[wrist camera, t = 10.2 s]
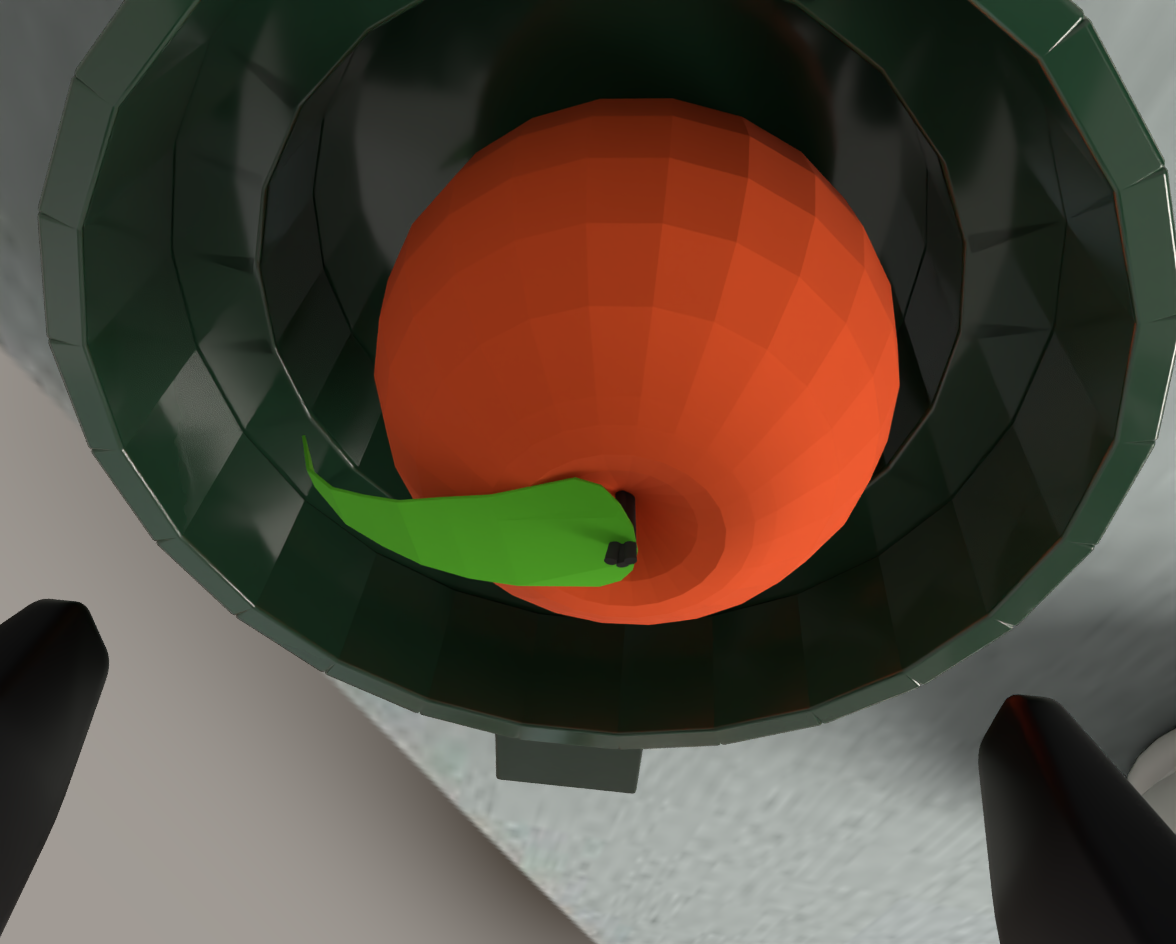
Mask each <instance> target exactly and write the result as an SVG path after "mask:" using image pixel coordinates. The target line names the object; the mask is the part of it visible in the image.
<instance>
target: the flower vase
mask: <svg viewBox="0 0 1176 944" xmlns="http://www.w3.org/2000/svg"><path fill="white" fill-rule="evenodd" d="M1127 780H1128V781H1129V782H1130V783H1131V784H1132V785H1133V787H1134V788H1135V789H1136V790H1137V791H1138V792H1139V793H1140V794H1141V796H1142V797H1143V798H1144V799H1145V800H1146V801H1147V802H1148V804H1149V805H1150V806H1151V807H1152V808H1153V809H1154V810H1155V811H1156V813H1157V814H1158V815H1159V816H1160V817H1161V818H1162V819H1163V821H1164V822H1165V823H1166V824H1167V825H1168V826H1169V827H1170V829H1171V830H1172V831H1173V832H1174V833H1175V834H1176V728H1175V729H1173V730H1172V731H1170V732H1168V733H1167V734H1165V735H1163V736H1161V737H1160V738H1158V739H1157V740H1156V741H1155V742H1154V743H1153V744H1151V745H1150V746H1149V747H1148V748H1147V749H1146V750H1145V751H1144V752H1143V753H1142V754H1140V756H1139V757H1138V758H1137V760H1136V762H1135V763H1134V765H1133V767H1132V769H1131V770H1130V772H1129V774H1128V779H1127Z"/></svg>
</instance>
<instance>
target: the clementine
mask: <svg viewBox="0 0 1176 944" xmlns="http://www.w3.org/2000/svg"><path fill="white" fill-rule="evenodd" d="M374 379H375V383H376V387H377V392H378V396H379V401H380V405H381V410H382V414H383V419H384V423H385V428H386V432H387V436H388V440H389V444H390V448H391V452H392V456H393V460H394V464H395V468H396V469H397V471H398V473H399V475H400V476H401V478H402V480H403V482H404V484H405V485H406V487H407V489H408V491H409V492H410V494H411V496H412V498H413V499H406V500H395V499H389V498H383V497H376V496H370V495H364V494H360V493H355V492H351V491H347V490H343V489H339V488H335V487H332V486H331V485H330V484H329V483H327V482H326V481H325V480H324V479H322V478H321V477H320V476H319V475H318V474H316V473H315V472H314V468H313V464H312V460H311V456H310V452H309V448H308V444H307V440H306V436H305V435H303V436H302V440H303V447H304V455H305V462H306V470H307V472H308V474H309V476H310V478H311V480H312V482H313V484H314V487H315V488H316V489H317V490H318V492H319V493H320V494H321V495H322V496H323V497H324V499H325V500H326V501H327V502H328V503H329V505H330V506H331V507H332V508H333V509H334V511H335V512H336V513H337V514H338V515H339V517H340V518H341V519H342V520H343V521H344V522H345V524H346V525H348V526H350V527H351V528H353V529H355V530H356V531H358V532H360V533H361V534H363V535H365V536H366V537H368V538H370V539H371V540H373V541H375V542H376V543H378V544H380V545H381V546H383V547H385V548H388V549H390V550H392V551H394V552H396V553H398V554H400V555H402V556H404V557H406V558H408V559H411V560H413V561H415V562H417V563H419V564H421V565H424V566H428V567H431V568H434V569H438V570H441V571H445V572H448V573H452V574H455V575H459V576H462V577H466V578H470V579H476V580H483V581H489V582H493V583H495V584H496V585H498V586H499V587H501V588H502V589H504V590H505V591H507V592H508V593H510V594H511V595H513V596H516V597H518V598H521V599H523V600H525V601H528V602H530V603H533V604H535V605H538V606H540V607H542V608H545V609H547V610H550V611H552V612H555V613H558V614H563V615H568V616H572V617H577V618H581V619H586V620H591V621H595V622H600V623H615V624H639V625H653V624H661V623H668V622H676V621H683V620H691V619H698V618H701V617H704V616H707V615H710V614H713V613H716V612H719V611H722V610H725V609H728V608H731V607H734V606H737V605H740V604H742V603H744V602H746V601H747V600H749V599H751V598H753V597H754V596H756V595H758V594H759V593H761V592H763V591H765V590H766V589H768V588H770V587H772V586H773V585H775V584H777V583H778V582H780V581H781V580H783V579H784V578H785V577H786V576H788V575H789V574H790V573H792V572H793V571H794V570H795V569H797V568H798V567H799V566H800V565H802V564H803V563H804V562H806V561H807V560H808V559H809V558H810V557H811V556H812V555H813V554H814V553H815V552H816V551H817V550H818V549H819V548H820V547H821V546H822V545H823V544H824V543H826V542H827V541H828V540H829V539H830V538H831V537H832V536H833V535H834V534H835V533H836V532H837V531H838V530H839V529H840V528H841V527H842V526H843V525H844V524H845V522H846V521H847V519H848V517H849V515H850V514H851V512H852V510H853V509H854V507H855V505H856V503H857V502H858V500H859V498H860V497H861V495H862V493H863V491H864V490H865V488H866V486H867V484H868V483H869V481H870V479H871V477H872V475H873V472H874V470H875V468H876V466H877V463H878V461H879V459H880V457H881V454H882V452H883V450H884V448H885V445H886V443H887V441H888V436H889V432H890V427H891V423H892V418H893V413H894V409H895V404H896V400H897V395H898V391H899V386H900V385H899V363H898V344H897V335H896V326H895V317H894V309H893V300H892V291H891V284H890V282H889V280H888V278H887V276H886V274H885V272H884V269H883V267H882V265H881V263H880V261H879V259H878V257H877V254H876V252H875V250H874V248H873V246H872V244H871V242H870V240H869V237H868V235H867V233H866V231H865V229H864V227H863V225H862V224H861V222H860V221H859V219H858V218H857V216H856V215H855V213H854V212H853V210H852V209H851V207H850V206H849V204H848V203H847V201H846V200H845V199H844V198H843V196H842V195H841V194H840V193H839V192H838V191H837V190H836V189H835V188H834V187H833V186H832V185H831V183H830V182H829V181H828V180H827V179H826V178H825V177H824V176H823V175H822V174H821V173H820V172H819V170H818V169H817V168H816V167H815V166H814V165H813V164H812V163H811V162H810V161H809V160H808V159H807V158H806V156H805V155H804V154H803V153H802V152H801V151H799V150H797V149H795V148H794V147H792V146H790V145H789V144H787V143H785V142H784V141H782V140H780V139H779V138H777V137H775V136H774V135H772V134H770V133H768V132H767V131H765V130H763V129H762V128H760V127H758V126H757V125H755V124H753V123H752V122H750V121H748V120H746V119H745V118H743V117H741V116H737V115H733V114H730V113H726V112H722V111H718V110H715V109H711V108H707V107H703V106H699V105H696V104H692V103H688V102H684V101H681V100H677V99H673V98H644V99H598V100H594V101H591V102H587V103H583V104H580V105H576V106H573V107H569V108H566V109H562V110H559V111H555V112H552V113H548V114H545V115H541V116H538V117H534V118H531V119H530V120H528V121H527V122H525V123H523V124H522V125H520V126H519V127H517V128H515V129H514V130H512V131H510V132H509V133H507V134H506V135H504V136H502V137H501V138H499V139H498V140H496V141H494V142H493V143H491V144H489V145H488V146H486V147H485V148H483V149H481V150H480V151H478V152H476V153H475V154H474V156H473V157H472V158H471V159H470V160H469V161H468V162H467V163H466V164H465V165H464V167H463V168H462V169H461V170H460V171H459V172H458V173H457V174H456V175H455V176H454V178H453V179H452V180H451V181H450V182H449V183H448V184H447V185H446V187H445V188H444V189H443V190H442V191H441V192H440V193H439V195H438V196H437V197H436V198H435V199H434V200H433V201H432V202H431V204H430V205H429V206H428V207H427V208H426V209H425V210H424V211H423V213H422V214H421V215H420V216H419V217H418V218H417V219H416V220H415V222H414V223H413V224H412V226H411V228H410V230H409V233H408V235H407V237H406V239H405V242H404V244H403V246H402V249H401V251H400V253H399V255H398V258H397V260H396V262H395V264H394V267H393V269H392V271H391V274H390V276H389V278H388V281H387V285H386V290H385V295H384V299H383V304H382V308H381V313H380V317H379V326H378V336H377V347H376V358H375V369H374Z"/></svg>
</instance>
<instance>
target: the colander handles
mask: <svg viewBox="0 0 1176 944" xmlns="http://www.w3.org/2000/svg"><path fill="white" fill-rule="evenodd" d="M495 738H496V776H497V779H500V780H510V781H519V782H528V783H538V784H547V785H557V786H566V787H576V788H585V789H595V790H604V791H614V792H623V793H632V794H633V793H635V792H636V788H637V782H638V776H639V769H640V763H641V757H642V751H643V749H631V750H621V749H619V748H618V749H616V750H614V749H604V748H595V747H585V746H575V745H566V744H556V743H547V742H537V741H528V740H520V739H519V738H516V739H514V738H510V737H506V736H502V735H498V734H495Z"/></svg>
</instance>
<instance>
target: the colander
mask: <svg viewBox="0 0 1176 944" xmlns="http://www.w3.org/2000/svg"><path fill="white" fill-rule="evenodd" d="M644 98H673V99H677V100H681V101H684V102H688V103H692V104H696V105H699V106H703V107H707V108H711V109H715V110H718V111H722V112H726V113H730V114H733V115H737V116H741V117H743V118H745V119H746V120H748V121H750V122H752V123H753V124H755V125H757V126H758V127H760V128H762V129H763V130H765V131H767V132H768V133H770V134H772V135H774V136H775V137H777V138H779V139H780V140H782V141H784V142H785V143H787V144H789V145H790V146H792V147H794V148H795V149H797V150H799V151H801V152H802V153H803V154H804V155H805V156H806V158H807V159H808V160H809V161H810V162H811V163H812V164H813V165H814V166H815V167H816V168H817V169H818V170H819V172H820V173H821V174H822V175H823V176H824V177H825V178H826V179H827V180H828V181H829V182H830V183H831V185H832V186H833V187H834V188H835V189H836V190H837V191H838V192H839V193H840V194H841V195H842V196H843V198H844V199H845V200H846V201H847V203H848V204H849V206H850V207H851V209H852V210H853V212H854V213H855V215H856V216H857V218H858V219H859V221H860V222H861V224H862V225H863V227H864V229H865V231H866V233H867V235H868V237H869V240H870V242H871V244H872V246H873V248H874V250H875V252H876V254H877V257H878V259H879V261H880V263H881V265H882V267H883V269H884V272H885V274H886V276H887V278H888V280H889V282H890V284H891V291H892V300H893V309H894V317H895V326H896V335H897V344H898V363H899V385H900V386H899V391H898V395H897V400H896V404H895V409H894V413H893V418H892V423H891V427H890V432H889V436H888V441H887V443H886V445H885V448H884V450H883V452H882V454H881V457H880V459H879V461H878V463H877V466H876V468H875V470H874V472H873V475H872V477H871V479H870V481H869V483H868V484H867V486H866V488H865V490H864V491H863V493H862V495H861V497H860V498H859V500H858V502H857V503H856V505H855V507H854V509H853V510H852V512H851V514H850V515H849V517H848V519H847V521H846V522H845V524H844V525H843V526H842V527H841V528H840V529H839V530H838V531H837V532H836V533H835V534H834V535H833V536H832V537H831V538H830V539H829V540H828V541H827V542H826V543H824V544H823V545H822V546H821V547H820V548H819V549H818V550H817V551H816V552H815V553H814V554H813V555H812V556H811V557H810V558H809V559H808V560H807V561H806V562H804V563H803V564H802V565H800V566H799V567H798V568H797V569H795V570H794V571H793V572H792V573H790V574H789V575H788V576H786V577H785V578H784V579H783V580H781V581H780V582H778V583H777V584H775V585H773V586H772V587H770V588H768V589H766V590H765V591H763V592H761V593H759V594H758V595H756V596H754V597H753V598H751V599H749V600H747V601H746V602H744V603H742V604H740V605H737V606H734V607H731V608H728V609H725V610H722V611H719V612H716V613H713V614H710V615H707V616H704V617H701V618H698V619H691V620H683V621H676V622H668V623H661V624H653V625H639V624H615V623H600V622H595V621H591V620H586V619H581V618H577V617H572V616H568V615H563V614H558V613H555V612H552V611H550V610H547V609H545V608H542V607H540V606H538V605H535V604H533V603H530V602H528V601H525V600H523V599H521V598H518V597H516V596H513V595H511V594H510V593H508V592H507V591H505V590H504V589H502V588H501V587H499V586H498V585H496V584H495V583H493V582H489V581H483V580H476V579H470V578H466V577H462V576H459V575H455V574H452V573H448V572H445V571H441V570H438V569H434V568H431V567H428V566H424V565H421V564H419V563H417V562H415V561H413V560H411V559H408V558H406V557H404V556H402V555H400V554H398V553H396V552H394V551H392V550H390V549H388V548H385V547H383V546H381V545H380V544H378V543H376V542H375V541H373V540H371V539H370V538H368V537H366V536H365V535H363V534H361V533H360V532H358V531H356V530H355V529H353V528H351V527H350V526H348V525H346V524H345V522H344V521H343V520H342V519H341V518H340V517H339V515H338V514H337V513H336V512H335V511H334V509H333V508H332V507H331V506H330V505H329V503H328V502H327V501H326V500H325V499H324V497H323V496H322V495H321V494H320V493H319V492H318V490H317V489H316V488H315V487H314V484H313V482H312V480H311V478H310V476H309V474H308V472H307V470H306V462H305V455H304V447H303V440H302V436H303V435H305V436H306V440H307V444H308V448H309V452H310V456H311V460H312V464H313V468H314V472H315V473H316V474H318V475H319V476H320V477H321V478H322V479H324V480H325V481H326V482H327V483H329V484H330V485H331V486H332V487H335V488H339V489H343V490H347V491H351V492H355V493H360V494H364V495H370V496H376V497H383V498H389V499H395V500H406V499H413V498H412V496H411V494H410V492H409V491H408V489H407V487H406V485H405V484H404V482H403V480H402V478H401V476H400V475H399V473H398V471H397V469H396V468H395V464H394V460H393V456H392V452H391V448H390V444H389V440H388V436H387V432H386V428H385V423H384V419H383V414H382V410H381V405H380V401H379V396H378V392H377V387H376V383H375V379H374V369H375V358H376V347H377V336H378V326H379V317H380V313H381V308H382V304H383V299H384V295H385V290H386V285H387V281H388V278H389V276H390V274H391V271H392V269H393V267H394V264H395V262H396V260H397V258H398V255H399V253H400V251H401V249H402V246H403V244H404V242H405V239H406V237H407V235H408V233H409V230H410V228H411V226H412V224H413V223H414V222H415V220H416V219H417V218H418V217H419V216H420V215H421V214H422V213H423V211H424V210H425V209H426V208H427V207H428V206H429V205H430V204H431V202H432V201H433V200H434V199H435V198H436V197H437V196H438V195H439V193H440V192H441V191H442V190H443V189H444V188H445V187H446V185H447V184H448V183H449V182H450V181H451V180H452V179H453V178H454V176H455V175H456V174H457V173H458V172H459V171H460V170H461V169H462V168H463V167H464V165H465V164H466V163H467V162H468V161H469V160H470V159H471V158H472V157H473V156H474V154H475V153H476V152H478V151H480V150H481V149H483V148H485V147H486V146H488V145H489V144H491V143H493V142H494V141H496V140H498V139H499V138H501V137H502V136H504V135H506V134H507V133H509V132H510V131H512V130H514V129H515V128H517V127H519V126H520V125H522V124H523V123H525V122H527V121H528V120H530V119H531V118H534V117H538V116H541V115H545V114H548V113H552V112H555V111H559V110H562V109H566V108H569V107H573V106H576V105H580V104H583V103H587V102H591V101H594V100H598V99H644ZM38 210H39V213H38V230H39V243H40V256H41V269H42V281H43V294H44V307H45V320H46V333H47V337H48V338H49V346H50V348H51V351H52V353H53V356H54V359H55V361H56V364H57V366H58V369H59V371H60V374H61V377H62V379H63V382H64V384H65V387H66V390H67V392H68V395H69V397H70V400H71V403H72V405H73V408H74V410H75V413H76V416H77V418H78V421H79V423H80V426H81V429H82V431H83V434H84V436H85V439H86V442H87V444H88V447H90V448H91V449H92V454H93V455H94V457H95V458H96V459H97V461H98V462H99V464H100V465H101V467H102V468H103V469H104V471H105V472H106V474H107V475H108V477H109V478H110V479H111V481H112V482H113V484H114V485H115V486H116V488H117V489H118V491H119V492H120V494H121V495H122V496H123V498H124V499H125V501H126V502H127V504H128V505H129V506H130V508H131V509H132V511H133V512H134V514H135V515H136V516H137V518H138V519H139V520H140V522H141V523H142V525H143V526H144V528H145V529H146V531H147V532H148V533H149V535H150V536H151V538H152V539H153V540H154V541H157V545H158V546H159V547H160V548H161V549H162V550H164V551H165V552H166V553H167V554H168V555H169V556H170V557H171V558H172V559H173V560H174V561H175V562H177V563H178V564H179V565H180V566H181V567H182V568H183V569H184V570H185V571H186V572H187V573H188V574H189V575H191V577H193V578H194V579H195V580H196V581H197V582H198V583H199V584H200V585H201V586H202V587H203V588H204V589H205V590H207V591H208V592H209V593H210V594H211V595H212V596H213V597H214V598H215V599H216V600H217V601H218V602H219V603H220V604H222V605H223V606H224V607H225V608H226V609H227V610H228V611H229V612H230V613H231V614H233V615H236V617H237V618H238V619H239V620H241V621H242V622H244V623H246V624H247V625H249V626H250V627H252V628H253V629H255V630H257V631H258V632H260V633H261V634H263V635H264V636H266V637H267V638H269V639H271V640H272V641H274V642H275V643H277V644H278V645H280V646H282V647H283V648H285V649H286V650H288V651H289V652H291V653H293V654H294V655H296V656H297V657H299V658H300V659H302V660H303V661H305V662H307V663H308V664H310V665H311V666H313V667H314V668H316V669H318V670H319V671H321V672H325V674H327V675H329V676H331V677H333V678H336V679H338V680H340V681H343V682H345V683H347V684H350V685H352V686H354V687H357V688H359V689H361V690H364V691H366V692H368V693H371V694H373V695H375V696H378V697H380V698H382V699H385V700H387V701H389V702H392V703H394V704H396V705H399V706H401V707H403V708H406V709H408V710H410V711H413V712H415V713H419V712H420V714H421V715H425V716H428V717H432V718H436V719H440V720H444V721H448V722H452V723H456V724H460V725H463V726H467V727H471V728H475V729H479V730H483V731H487V732H491V733H494V734H498V735H502V736H506V737H510V738H514V739H516V738H519V739H520V740H528V741H537V742H547V743H556V744H566V745H575V746H585V747H595V748H604V749H614V750H616V749H618V748H619V749H621V750H631V749H653V748H675V747H697V746H718V745H720V743H721V744H723V745H726V744H731V743H736V742H741V741H745V740H750V739H755V738H760V737H765V736H770V735H775V734H780V733H785V732H790V731H794V730H799V729H804V728H809V727H814V726H819V725H821V724H822V723H829V722H831V721H834V720H836V719H839V718H842V717H844V716H847V715H849V714H852V713H854V712H857V711H860V710H862V709H865V708H867V707H870V706H872V705H875V704H878V703H880V702H883V701H885V700H888V699H890V698H893V697H896V696H898V695H901V694H903V693H906V692H908V691H911V690H914V689H916V688H919V687H920V686H921V684H922V685H924V684H926V683H928V682H930V681H931V680H933V679H934V678H936V677H938V676H939V675H941V674H942V673H944V672H946V671H947V670H949V669H950V668H952V667H953V666H955V665H957V664H958V663H960V662H961V661H963V660H965V659H966V658H968V657H969V656H971V655H972V654H974V653H976V652H977V651H979V650H980V649H982V648H984V647H985V646H987V645H988V644H990V643H992V642H993V641H995V640H996V639H998V638H999V637H1001V636H1003V635H1004V634H1006V633H1007V632H1009V631H1011V630H1012V629H1013V627H1014V626H1017V625H1018V624H1019V623H1020V622H1021V621H1022V620H1023V619H1024V618H1025V617H1026V616H1027V615H1028V614H1029V613H1030V612H1031V611H1032V610H1033V609H1034V608H1035V607H1036V606H1037V605H1038V604H1039V603H1040V602H1041V601H1042V600H1043V599H1044V598H1045V597H1046V596H1047V595H1048V594H1049V593H1050V592H1051V591H1052V590H1053V589H1054V588H1055V587H1056V586H1057V585H1058V584H1059V583H1060V582H1061V581H1062V580H1063V579H1064V578H1065V577H1066V576H1067V575H1068V574H1069V573H1070V572H1071V571H1072V570H1073V569H1074V568H1075V567H1076V566H1077V565H1078V564H1079V563H1080V562H1082V561H1083V560H1084V559H1085V558H1086V557H1087V556H1088V555H1089V554H1090V553H1091V552H1092V551H1093V549H1094V547H1095V545H1097V544H1098V543H1099V541H1100V540H1101V538H1102V536H1103V534H1104V533H1105V531H1106V529H1107V528H1108V526H1109V524H1110V522H1111V521H1112V519H1113V517H1114V515H1115V514H1116V512H1117V510H1118V509H1119V507H1120V505H1121V503H1122V502H1123V500H1124V498H1125V496H1126V495H1127V493H1128V491H1129V490H1130V488H1131V486H1132V484H1133V483H1134V481H1135V479H1136V477H1137V476H1138V474H1139V472H1140V471H1141V469H1142V467H1143V465H1144V464H1145V462H1146V460H1147V458H1148V457H1149V455H1150V453H1151V452H1152V450H1153V448H1154V446H1155V440H1157V438H1158V436H1159V431H1160V427H1161V422H1162V418H1163V413H1164V409H1165V404H1166V399H1167V395H1168V390H1169V386H1170V381H1171V377H1172V372H1173V368H1174V363H1175V359H1176V230H1175V222H1174V214H1173V206H1172V199H1171V191H1170V183H1169V175H1168V170H1167V169H1166V167H1165V160H1164V158H1163V156H1162V154H1161V152H1160V150H1159V148H1158V146H1157V144H1156V143H1155V141H1154V139H1153V137H1152V135H1151V133H1150V131H1149V129H1148V128H1147V126H1146V124H1145V122H1144V120H1143V118H1142V116H1141V114H1140V112H1139V111H1138V109H1137V107H1136V105H1135V103H1134V101H1133V99H1132V97H1131V95H1130V94H1129V92H1128V90H1127V88H1126V86H1125V84H1124V82H1123V80H1122V79H1121V77H1120V75H1119V73H1118V71H1117V69H1116V67H1115V65H1114V63H1113V62H1112V60H1111V58H1110V56H1109V54H1108V52H1107V50H1106V48H1105V47H1104V45H1103V43H1102V41H1101V39H1100V37H1099V35H1098V33H1097V31H1096V30H1095V28H1094V26H1093V24H1092V22H1091V20H1090V19H1089V18H1087V17H1086V16H1085V15H1084V13H1083V10H1082V9H1081V8H1080V7H1079V6H1077V5H1076V4H1075V3H1074V2H1073V1H1072V0H124V1H123V3H122V4H121V6H120V7H119V9H118V10H117V11H116V13H115V14H114V16H113V17H112V18H111V20H110V21H109V23H108V24H107V26H106V27H105V28H104V30H103V31H102V33H101V34H100V35H99V37H98V38H97V40H96V41H95V43H94V44H93V45H92V47H91V48H90V50H89V51H88V52H87V54H86V55H85V57H84V58H83V60H82V61H81V62H80V64H79V65H78V67H77V68H76V70H75V76H74V77H73V78H72V79H71V83H70V87H69V90H68V94H67V98H66V102H65V106H64V110H63V113H62V117H61V121H60V125H59V129H58V133H57V136H56V140H55V144H54V148H53V152H52V156H51V159H50V163H49V167H48V171H47V175H46V179H45V182H44V186H43V190H42V194H41V198H40V202H39V206H38Z"/></svg>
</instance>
